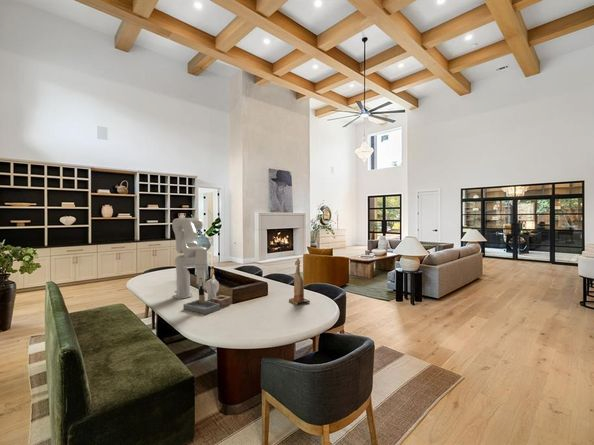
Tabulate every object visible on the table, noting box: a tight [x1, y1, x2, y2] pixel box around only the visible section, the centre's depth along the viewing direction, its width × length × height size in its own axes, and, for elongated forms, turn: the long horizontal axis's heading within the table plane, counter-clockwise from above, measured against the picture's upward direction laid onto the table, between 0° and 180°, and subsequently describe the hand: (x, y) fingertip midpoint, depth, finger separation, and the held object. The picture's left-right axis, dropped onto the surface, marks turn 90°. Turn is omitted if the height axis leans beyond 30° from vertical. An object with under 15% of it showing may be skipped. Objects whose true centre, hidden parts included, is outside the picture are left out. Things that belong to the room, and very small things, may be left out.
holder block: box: [210, 294, 233, 309], centre depth 201 cm, size 10×10×5 cm
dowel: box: [198, 283, 206, 303], centre depth 191 cm, size 4×4×14 cm
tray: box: [183, 299, 221, 316], centre depth 192 cm, size 20×13×4 cm, turn 59°
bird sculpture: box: [288, 257, 311, 307], centre depth 206 cm, size 11×12×32 cm
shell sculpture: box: [204, 274, 220, 302], centre depth 213 cm, size 8×8×18 cm
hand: (201, 293), depth 191 cm, fingers closed on dowel, 3 cm apart
